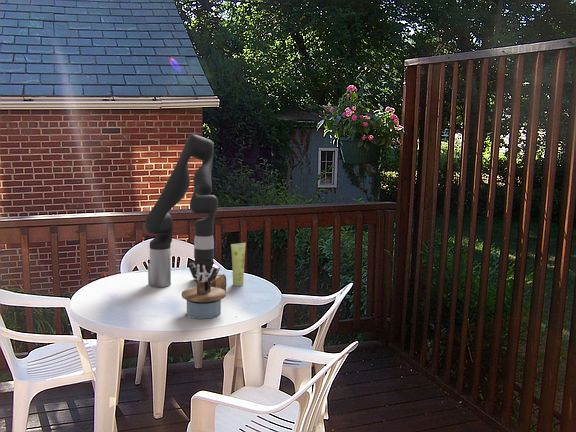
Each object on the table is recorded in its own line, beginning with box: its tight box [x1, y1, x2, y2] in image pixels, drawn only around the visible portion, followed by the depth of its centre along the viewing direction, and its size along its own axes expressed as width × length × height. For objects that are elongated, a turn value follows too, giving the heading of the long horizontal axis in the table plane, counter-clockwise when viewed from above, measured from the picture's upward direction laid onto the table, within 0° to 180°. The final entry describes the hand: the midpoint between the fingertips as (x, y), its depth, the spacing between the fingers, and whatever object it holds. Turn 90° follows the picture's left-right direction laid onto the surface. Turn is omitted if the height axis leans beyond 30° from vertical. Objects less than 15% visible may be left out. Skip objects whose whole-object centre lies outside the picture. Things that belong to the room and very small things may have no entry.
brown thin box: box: [211, 274, 227, 292], centre depth 253 cm, size 15×3×8 cm, turn 168°
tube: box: [230, 242, 247, 287], centre depth 268 cm, size 6×5×20 cm
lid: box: [181, 279, 227, 302], centre depth 228 cm, size 17×17×6 cm
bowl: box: [186, 299, 222, 320], centre depth 229 cm, size 13×13×6 cm
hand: (203, 289), depth 228 cm, fingers closed on lid, 2 cm apart
